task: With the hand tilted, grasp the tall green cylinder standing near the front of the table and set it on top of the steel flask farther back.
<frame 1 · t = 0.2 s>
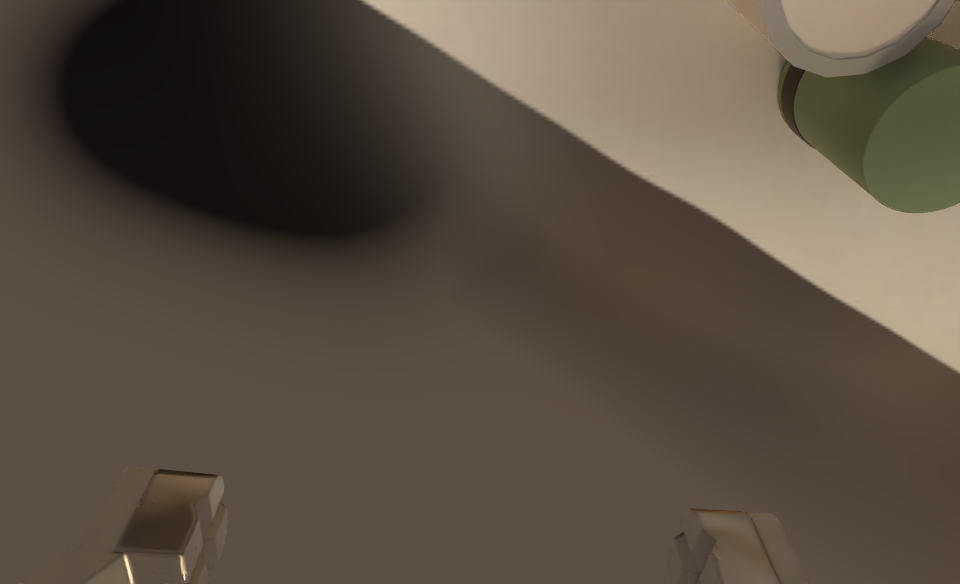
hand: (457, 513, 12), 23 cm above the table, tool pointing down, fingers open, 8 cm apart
green cylinder: (839, 80, 31), on the table
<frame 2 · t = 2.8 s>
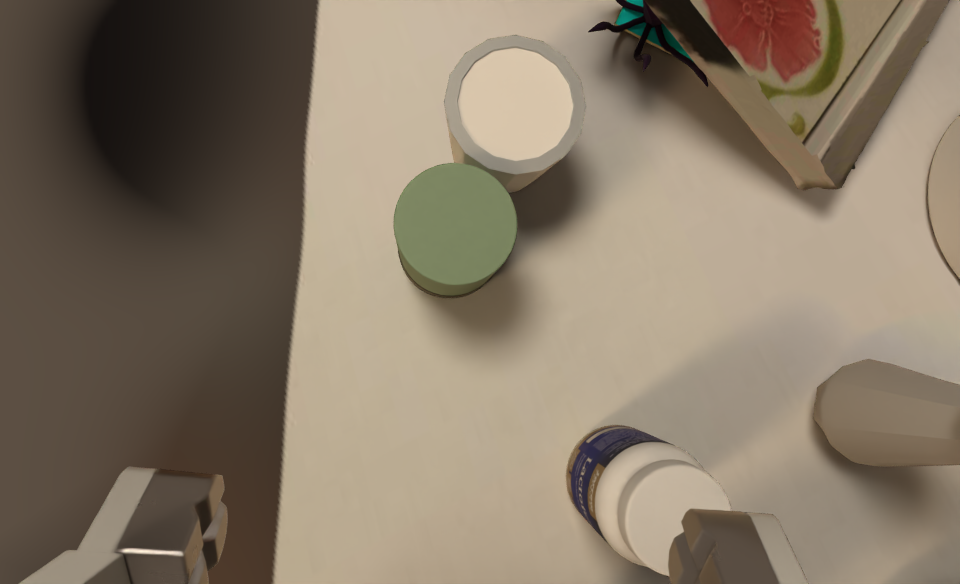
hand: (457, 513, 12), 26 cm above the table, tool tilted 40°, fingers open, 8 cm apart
pill bottle: (612, 474, 38), on the table
salt shaker: (843, 408, 40), on the table
green cylinder: (449, 249, 38), on the table
shot glass: (499, 147, 39), on the table
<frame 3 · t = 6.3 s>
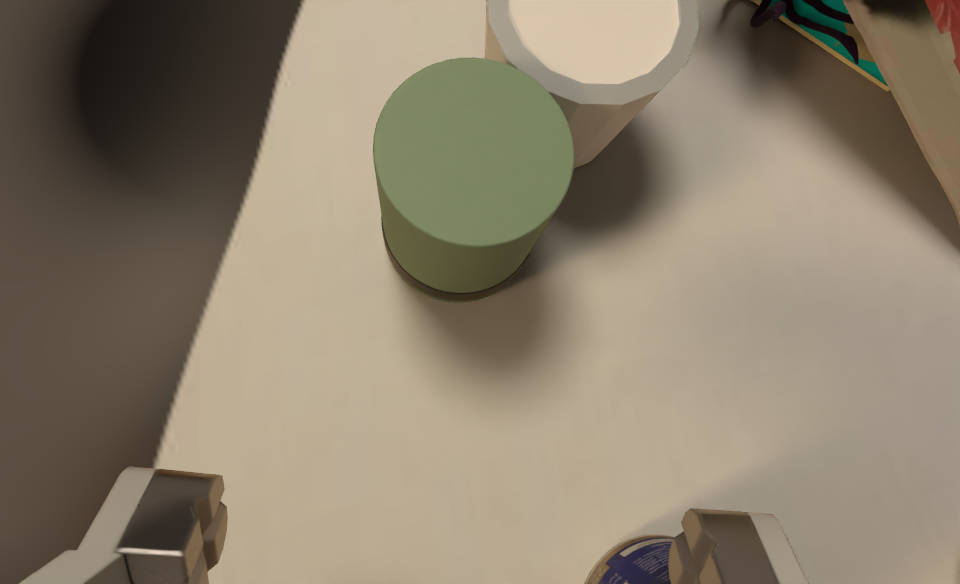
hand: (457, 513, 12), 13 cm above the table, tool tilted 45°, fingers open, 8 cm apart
green cylinder: (456, 232, 26), on the table
shot glass: (549, 110, 28), on the table
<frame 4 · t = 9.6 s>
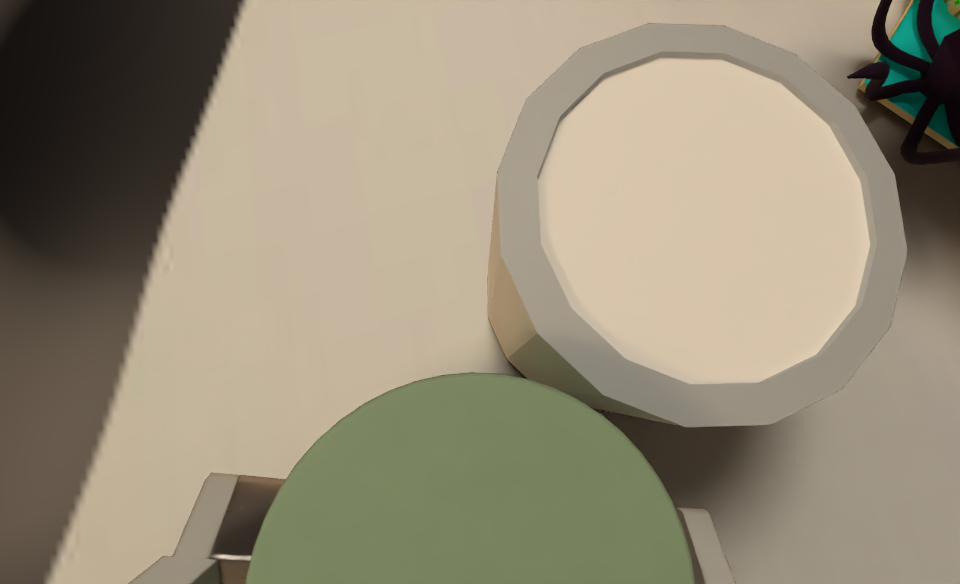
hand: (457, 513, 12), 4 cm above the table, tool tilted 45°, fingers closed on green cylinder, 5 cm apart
green cylinder: (444, 519, 16), on the table, touching gripper
shot glass: (591, 298, 18), on the table
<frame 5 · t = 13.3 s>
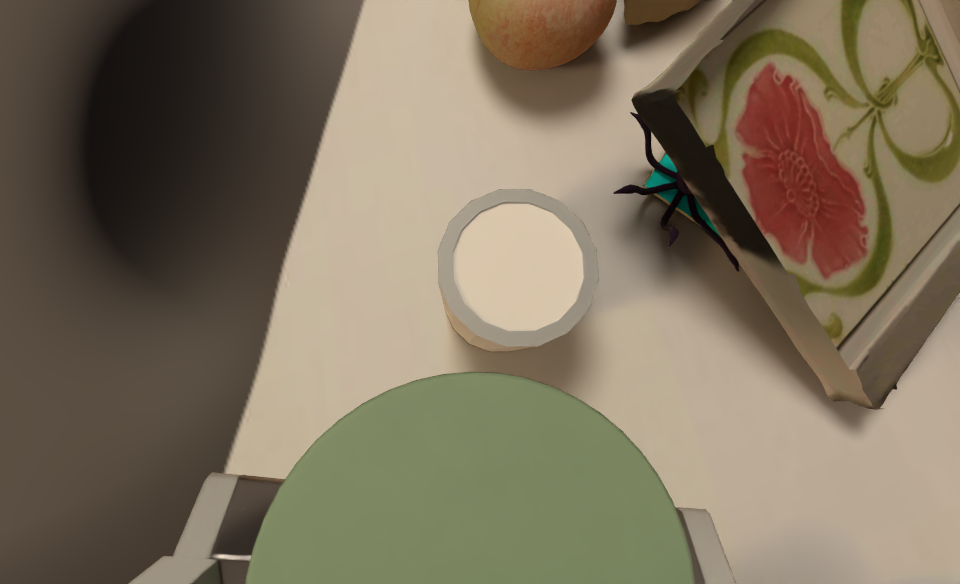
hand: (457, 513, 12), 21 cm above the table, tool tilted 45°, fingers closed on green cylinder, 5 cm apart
diorama: (716, 167, 37), on the table, touching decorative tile
fruit: (528, 36, 38), on the table
green cylinder: (444, 519, 16), point 17 cm above the table, touching gripper
shot glass: (497, 298, 35), on the table
when the fingers open (18 cm above the table, at t = 17.5 s): green cylinder stays where it is, resting on flask.
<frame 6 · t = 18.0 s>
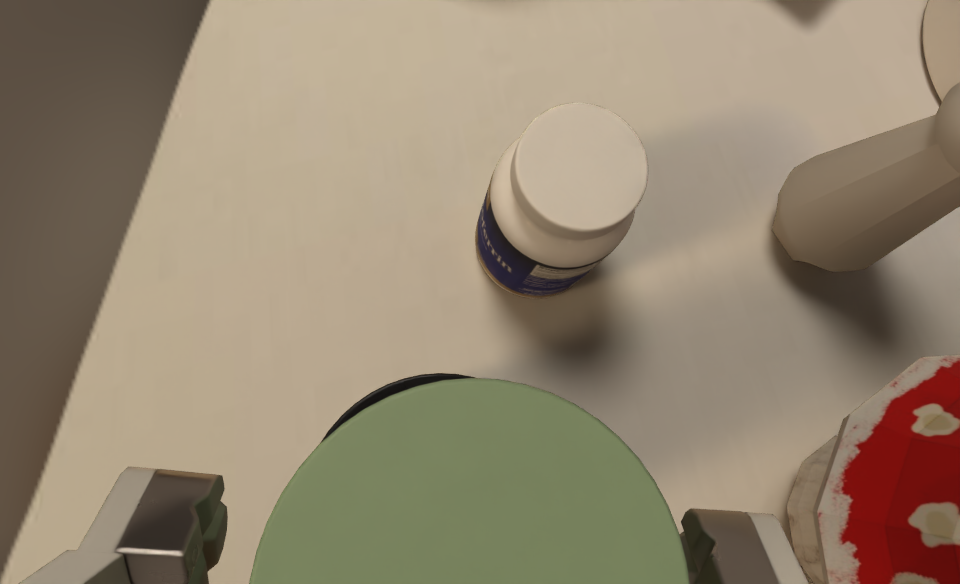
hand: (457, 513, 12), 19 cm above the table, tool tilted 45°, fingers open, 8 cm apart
pill bottle: (531, 244, 33), on the table
flask: (428, 480, 30), on the table
salt shaker: (807, 228, 34), on the table
green cylinder: (444, 521, 16), point 14 cm above the table, touching flask
decorative mushroom: (849, 518, 31), on the table, touching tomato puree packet
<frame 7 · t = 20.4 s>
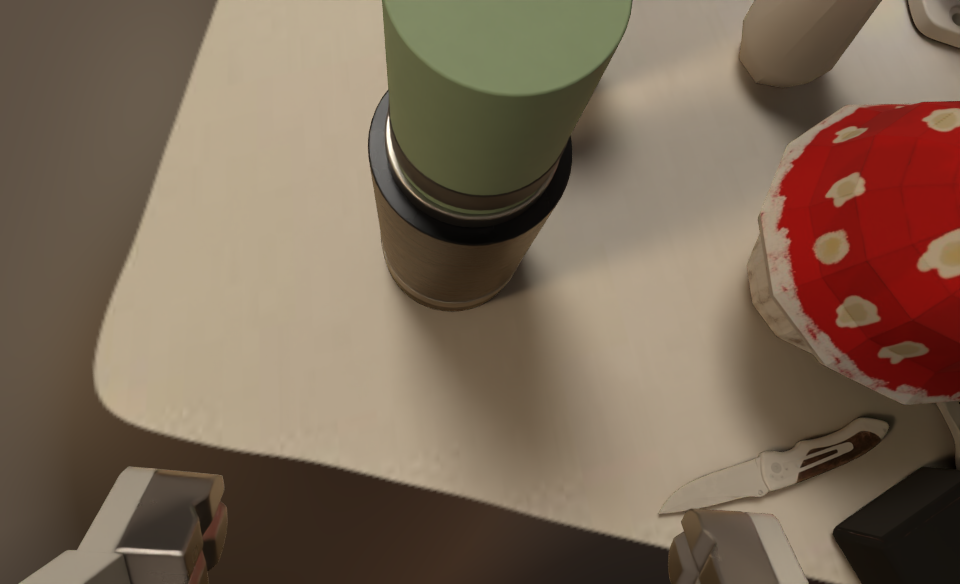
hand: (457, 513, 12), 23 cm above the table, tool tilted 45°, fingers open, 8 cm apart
pocket knife: (765, 446, 35), on the table
flask: (451, 245, 36), on the table
salt shaker: (769, 59, 41), on the table
battery: (901, 496, 33), point 2 cm above the table
green cylinder: (475, 135, 22), point 14 cm above the table, touching flask
decorative mushroom: (801, 287, 38), on the table, touching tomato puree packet
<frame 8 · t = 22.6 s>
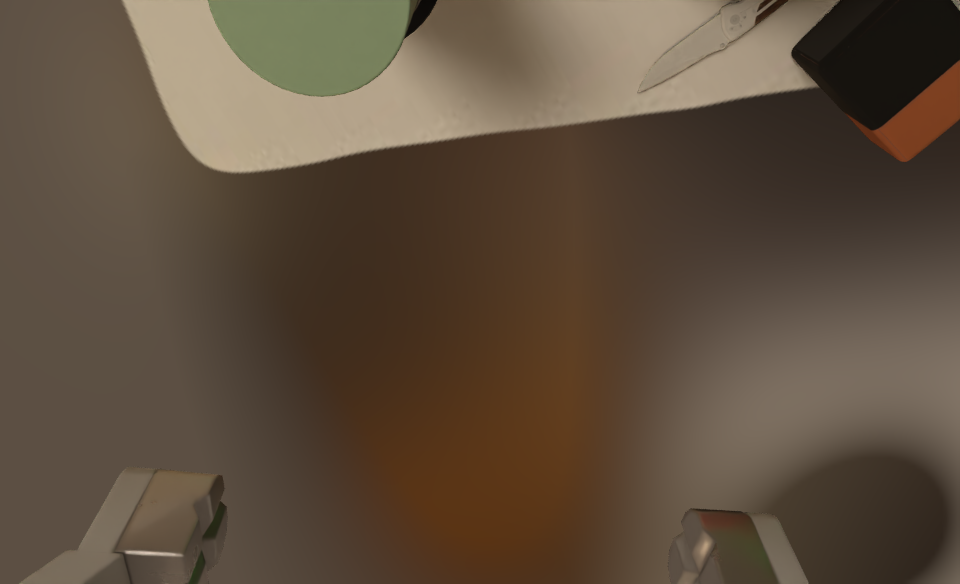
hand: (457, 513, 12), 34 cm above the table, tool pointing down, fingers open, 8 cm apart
pocket knife: (725, 1, 39), on the table
battery: (848, 9, 37), point 2 cm above the table
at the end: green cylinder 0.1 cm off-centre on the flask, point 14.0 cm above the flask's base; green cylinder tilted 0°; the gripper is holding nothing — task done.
